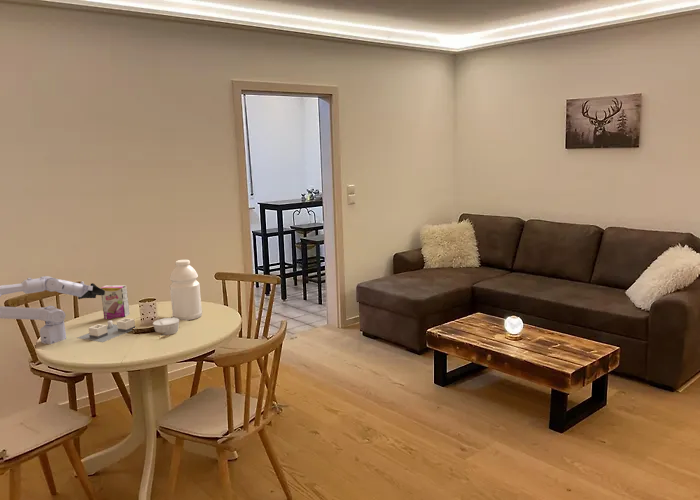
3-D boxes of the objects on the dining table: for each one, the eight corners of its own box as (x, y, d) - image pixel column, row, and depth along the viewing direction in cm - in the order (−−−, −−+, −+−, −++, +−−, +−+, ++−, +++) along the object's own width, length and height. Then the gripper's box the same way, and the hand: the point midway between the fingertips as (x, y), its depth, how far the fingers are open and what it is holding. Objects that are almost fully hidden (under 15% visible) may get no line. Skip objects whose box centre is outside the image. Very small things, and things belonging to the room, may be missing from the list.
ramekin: (148, 334, 254) (147, 323, 253) (167, 327, 264) (166, 316, 263) (166, 337, 249) (165, 326, 248) (185, 330, 259) (184, 319, 258)
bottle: (178, 323, 269) (173, 265, 264) (168, 316, 280) (163, 260, 275) (206, 316, 277) (202, 260, 272) (196, 310, 288) (191, 256, 283)
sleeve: (98, 338, 246) (97, 328, 245) (89, 337, 248) (88, 327, 247) (107, 335, 250) (106, 325, 250) (99, 333, 253) (98, 324, 252)
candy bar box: (103, 320, 278) (99, 287, 275) (108, 317, 283) (105, 285, 280) (125, 320, 277) (121, 287, 274) (130, 317, 282) (126, 284, 279)
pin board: (103, 345, 242) (102, 335, 241) (76, 341, 248) (75, 331, 248) (138, 330, 259) (137, 321, 259) (112, 327, 266) (111, 318, 265)
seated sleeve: (126, 332, 253) (125, 322, 253) (117, 330, 256) (116, 321, 255) (135, 328, 258) (134, 319, 257) (126, 327, 260) (125, 317, 259)
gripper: (79, 276, 246) (109, 283, 256) (64, 282, 255) (93, 288, 265) (77, 292, 244) (107, 298, 254) (61, 297, 253) (90, 303, 263)
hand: (100, 294), depth 259 cm, fingers open, 7 cm apart
